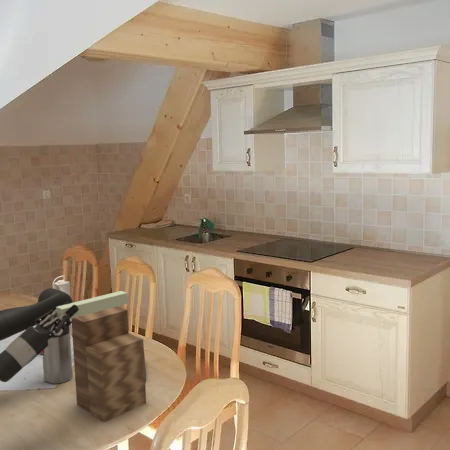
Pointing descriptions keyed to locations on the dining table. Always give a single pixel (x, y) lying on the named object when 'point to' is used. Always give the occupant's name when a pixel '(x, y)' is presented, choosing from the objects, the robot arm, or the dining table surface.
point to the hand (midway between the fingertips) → (73, 305)
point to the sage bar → (95, 304)
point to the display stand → (108, 364)
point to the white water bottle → (65, 288)
